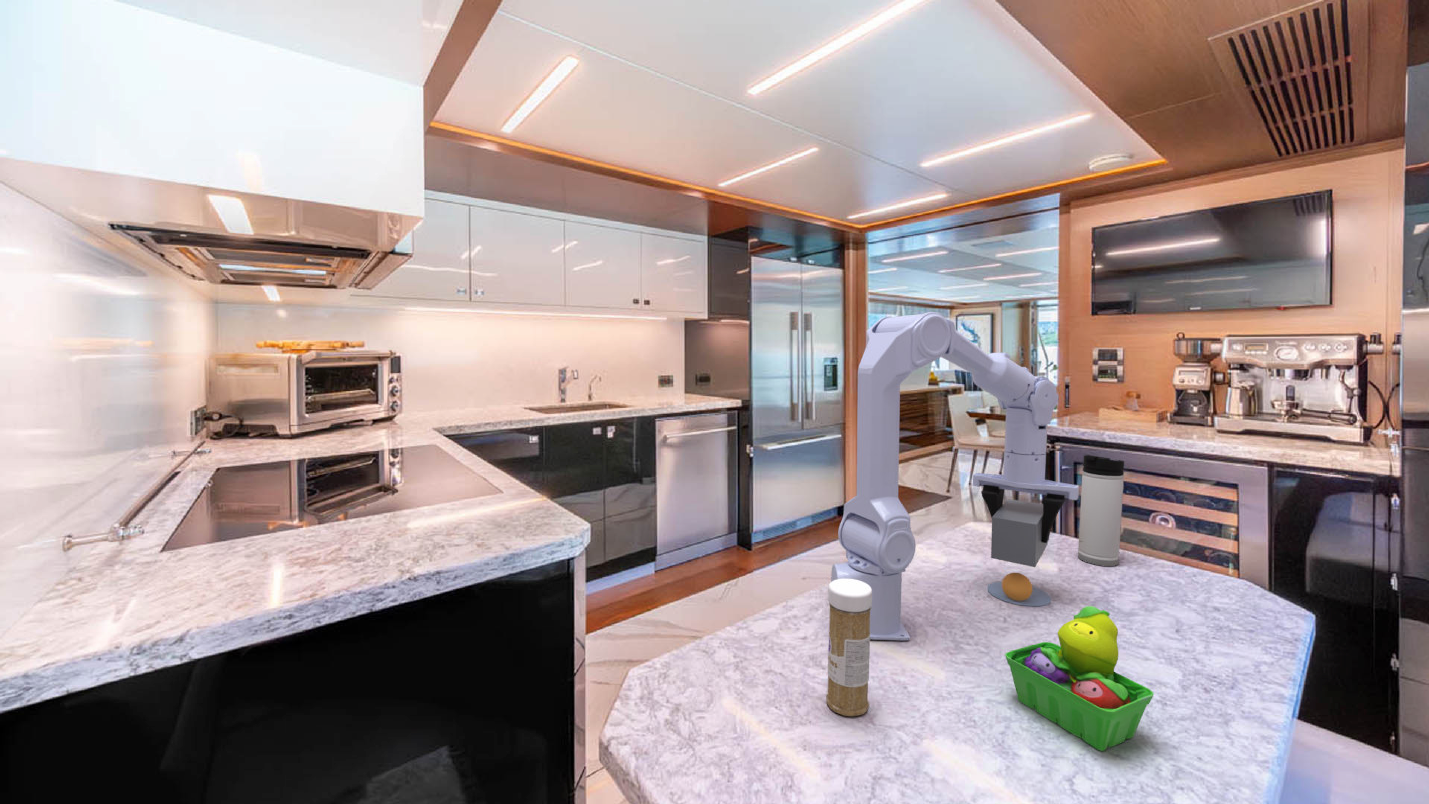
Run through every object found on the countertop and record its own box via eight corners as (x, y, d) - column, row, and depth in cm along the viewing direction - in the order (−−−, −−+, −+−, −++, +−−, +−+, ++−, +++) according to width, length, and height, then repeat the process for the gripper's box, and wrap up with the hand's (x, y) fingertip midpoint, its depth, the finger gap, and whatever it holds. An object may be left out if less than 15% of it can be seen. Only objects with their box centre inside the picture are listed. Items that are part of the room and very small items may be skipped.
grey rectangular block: (1035, 567, 82) (1036, 524, 81) (991, 558, 86) (991, 517, 85) (1047, 544, 90) (1049, 505, 89) (1006, 536, 94) (1007, 499, 93)
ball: (1019, 588, 89) (1012, 609, 86) (999, 570, 89) (992, 590, 87) (1041, 583, 86) (1035, 604, 83) (1021, 564, 86) (1014, 584, 83)
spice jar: (821, 694, 62) (823, 577, 61) (860, 691, 62) (862, 576, 61) (833, 720, 57) (836, 595, 56) (876, 717, 58) (879, 593, 57)
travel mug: (1068, 556, 105) (1073, 453, 104) (1094, 553, 107) (1100, 451, 106) (1100, 568, 99) (1106, 458, 98) (1126, 564, 101) (1133, 456, 100)
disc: (1003, 605, 84) (1003, 604, 84) (977, 582, 93) (977, 580, 93) (1063, 607, 84) (1063, 605, 84) (1032, 583, 93) (1032, 582, 93)
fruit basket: (998, 697, 62) (1003, 599, 61) (1051, 678, 65) (1056, 585, 64) (1106, 765, 51) (1113, 648, 50) (1162, 739, 55) (1169, 629, 54)
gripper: (1083, 453, 85) (1078, 539, 86) (981, 444, 94) (978, 522, 95) (1077, 460, 80) (1072, 551, 81) (970, 449, 89) (967, 532, 90)
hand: (1021, 536), depth 88 cm, fingers closed on grey rectangular block, 6 cm apart
